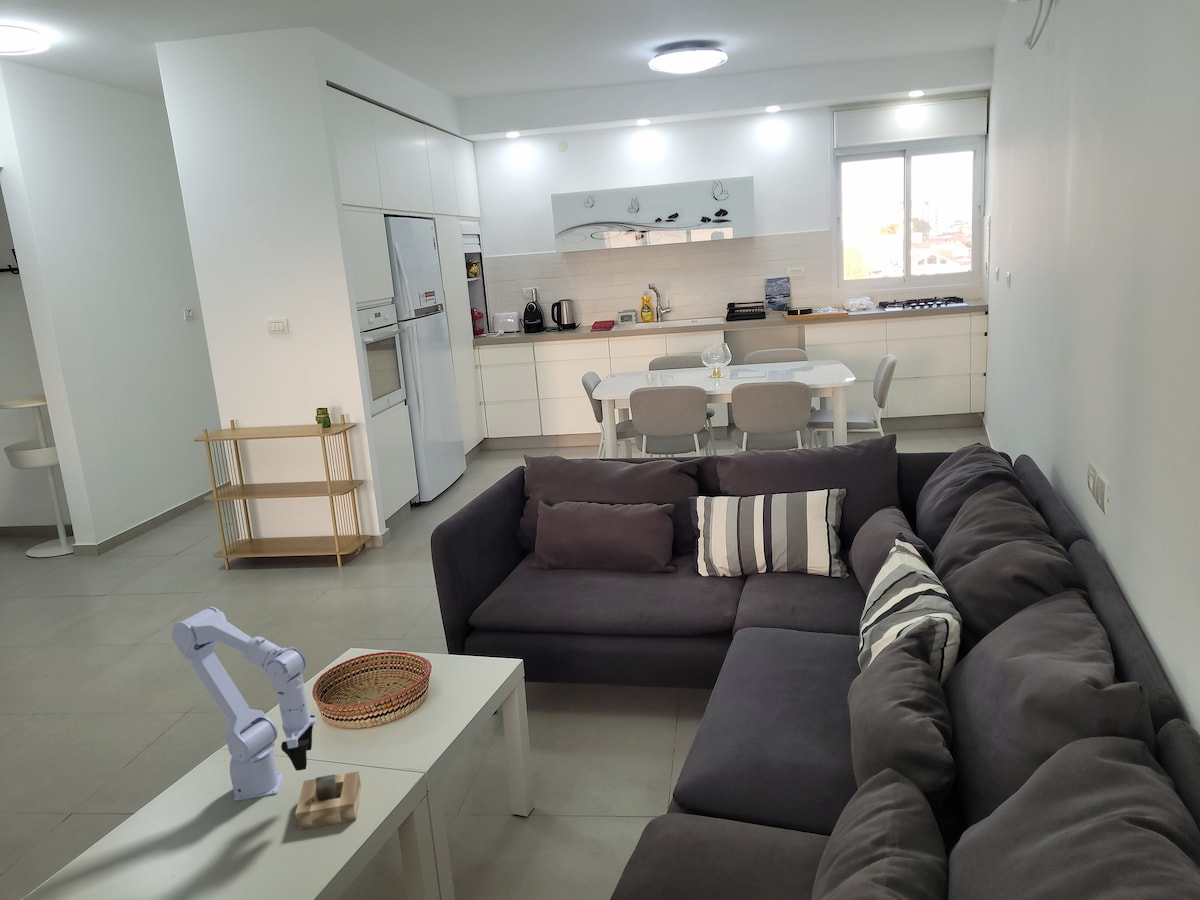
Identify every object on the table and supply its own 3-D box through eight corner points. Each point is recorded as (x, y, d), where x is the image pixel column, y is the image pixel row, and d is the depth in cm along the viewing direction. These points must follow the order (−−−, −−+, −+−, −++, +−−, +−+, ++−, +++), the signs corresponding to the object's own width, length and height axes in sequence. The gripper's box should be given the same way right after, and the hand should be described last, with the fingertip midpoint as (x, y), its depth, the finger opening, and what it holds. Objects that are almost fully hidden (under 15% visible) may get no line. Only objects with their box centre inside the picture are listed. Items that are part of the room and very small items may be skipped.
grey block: (319, 813, 194) (314, 784, 192) (322, 802, 197) (317, 774, 196) (338, 809, 194) (333, 781, 192) (340, 798, 198) (335, 771, 196)
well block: (298, 830, 189) (295, 813, 188) (307, 796, 201) (304, 780, 200) (356, 819, 191) (353, 803, 190) (361, 786, 203) (358, 771, 202)
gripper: (307, 718, 188) (317, 774, 191) (316, 685, 202) (326, 738, 205) (272, 723, 187) (284, 780, 190) (284, 690, 201) (295, 744, 204)
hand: (303, 759), depth 198 cm, fingers open, 7 cm apart
